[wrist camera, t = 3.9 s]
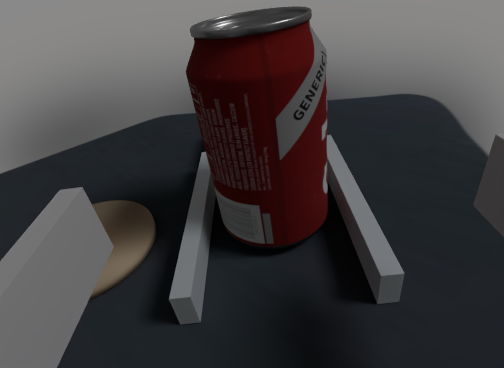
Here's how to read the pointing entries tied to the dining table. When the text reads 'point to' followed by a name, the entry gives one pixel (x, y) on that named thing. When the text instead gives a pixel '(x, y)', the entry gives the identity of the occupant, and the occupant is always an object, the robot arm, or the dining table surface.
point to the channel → (353, 213)
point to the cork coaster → (124, 240)
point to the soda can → (263, 122)
